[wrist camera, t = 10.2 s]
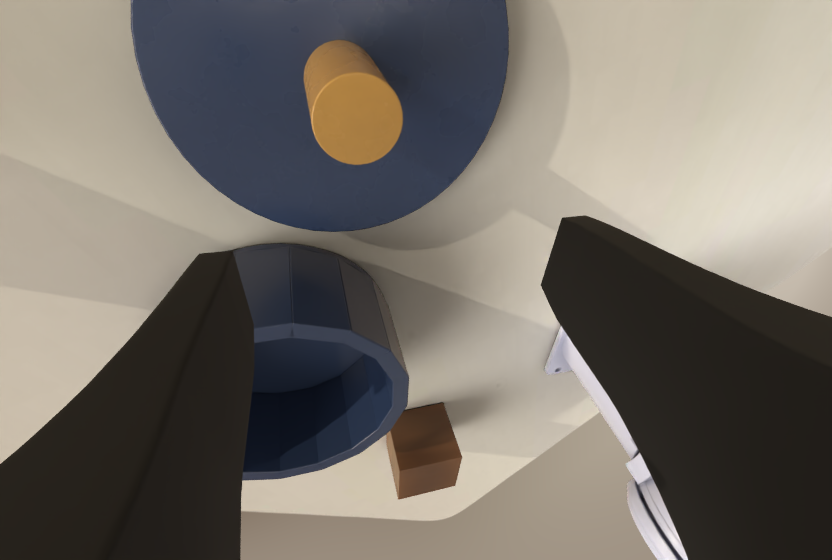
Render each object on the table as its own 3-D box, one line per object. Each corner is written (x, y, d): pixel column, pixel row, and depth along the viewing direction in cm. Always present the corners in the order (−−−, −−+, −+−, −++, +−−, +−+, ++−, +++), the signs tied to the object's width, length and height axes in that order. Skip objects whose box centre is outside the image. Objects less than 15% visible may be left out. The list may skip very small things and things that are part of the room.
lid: (529, -153, 13) (633, -181, 9) (474, 206, 21) (517, 269, 17) (56, -204, 10) (-71, -274, 6) (202, 232, 18) (184, 313, 15)
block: (443, 402, 32) (462, 457, 29) (438, 433, 35) (455, 485, 32) (386, 413, 31) (399, 471, 28) (386, 444, 34) (398, 499, 31)
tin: (386, 231, 21) (413, 305, 17) (386, 376, 28) (405, 451, 24) (122, 258, 18) (79, 353, 14) (199, 410, 26) (185, 500, 22)
